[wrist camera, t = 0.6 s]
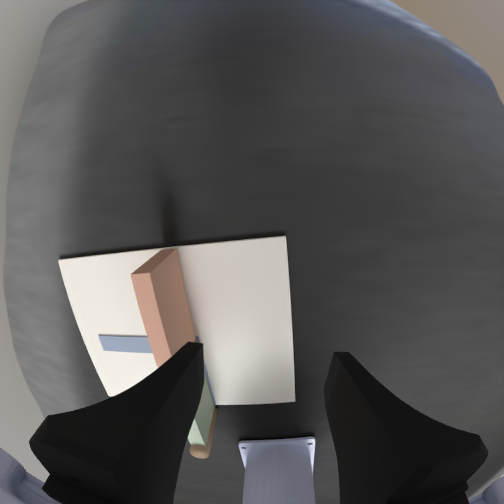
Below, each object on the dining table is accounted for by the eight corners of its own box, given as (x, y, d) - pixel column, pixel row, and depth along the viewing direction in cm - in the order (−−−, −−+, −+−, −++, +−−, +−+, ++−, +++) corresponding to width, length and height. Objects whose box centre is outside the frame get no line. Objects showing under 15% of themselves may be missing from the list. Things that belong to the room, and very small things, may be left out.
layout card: (295, 399, 23) (295, 402, 23) (109, 394, 25) (108, 396, 24) (285, 235, 19) (286, 237, 19) (60, 259, 21) (57, 260, 20)
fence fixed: (219, 415, 24) (210, 459, 19) (203, 415, 24) (192, 457, 19) (203, 356, 22) (188, 401, 17) (184, 356, 22) (166, 400, 17)
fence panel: (203, 355, 22) (189, 398, 17) (182, 355, 22) (164, 396, 17) (180, 247, 19) (154, 272, 14) (157, 250, 19) (125, 274, 15)
